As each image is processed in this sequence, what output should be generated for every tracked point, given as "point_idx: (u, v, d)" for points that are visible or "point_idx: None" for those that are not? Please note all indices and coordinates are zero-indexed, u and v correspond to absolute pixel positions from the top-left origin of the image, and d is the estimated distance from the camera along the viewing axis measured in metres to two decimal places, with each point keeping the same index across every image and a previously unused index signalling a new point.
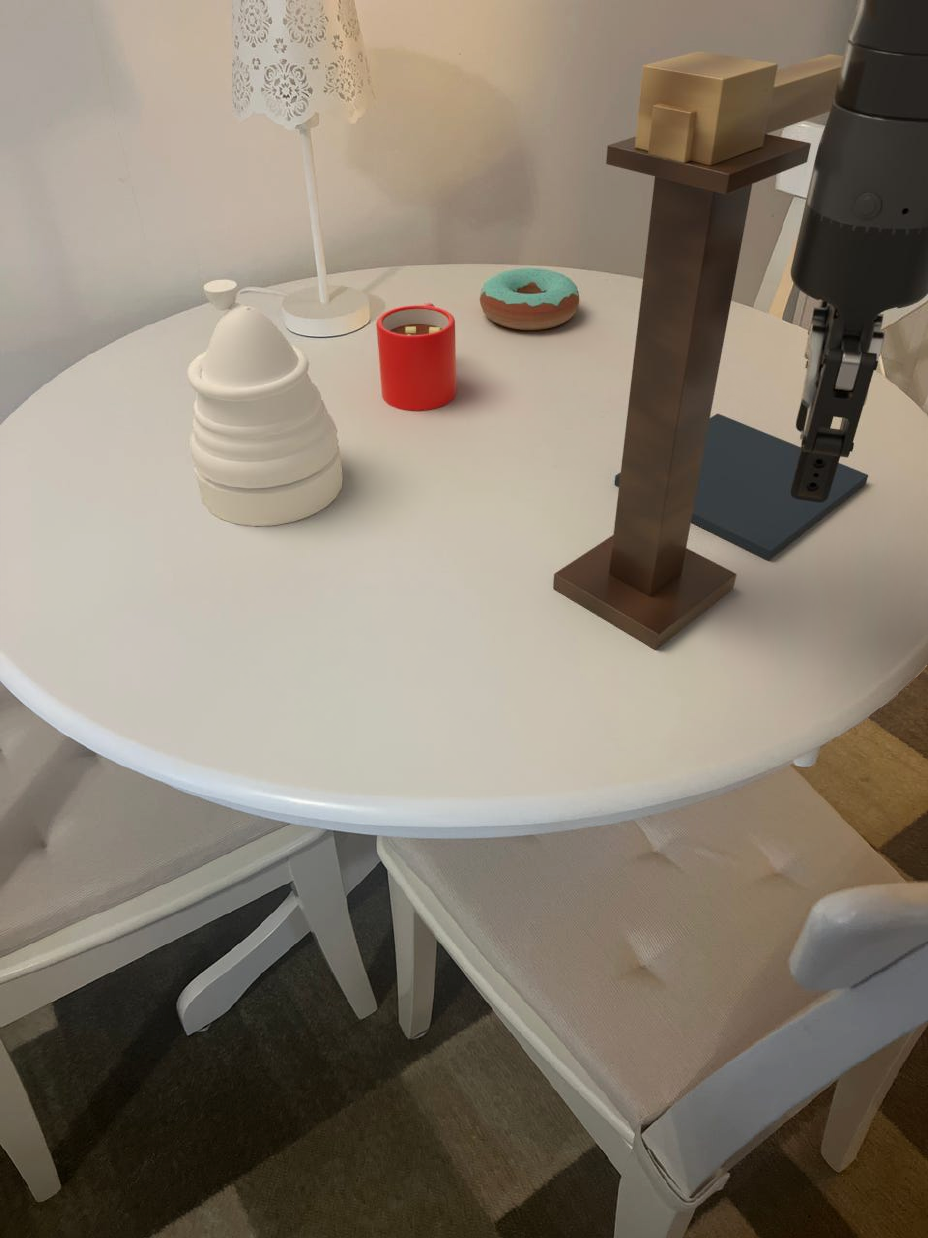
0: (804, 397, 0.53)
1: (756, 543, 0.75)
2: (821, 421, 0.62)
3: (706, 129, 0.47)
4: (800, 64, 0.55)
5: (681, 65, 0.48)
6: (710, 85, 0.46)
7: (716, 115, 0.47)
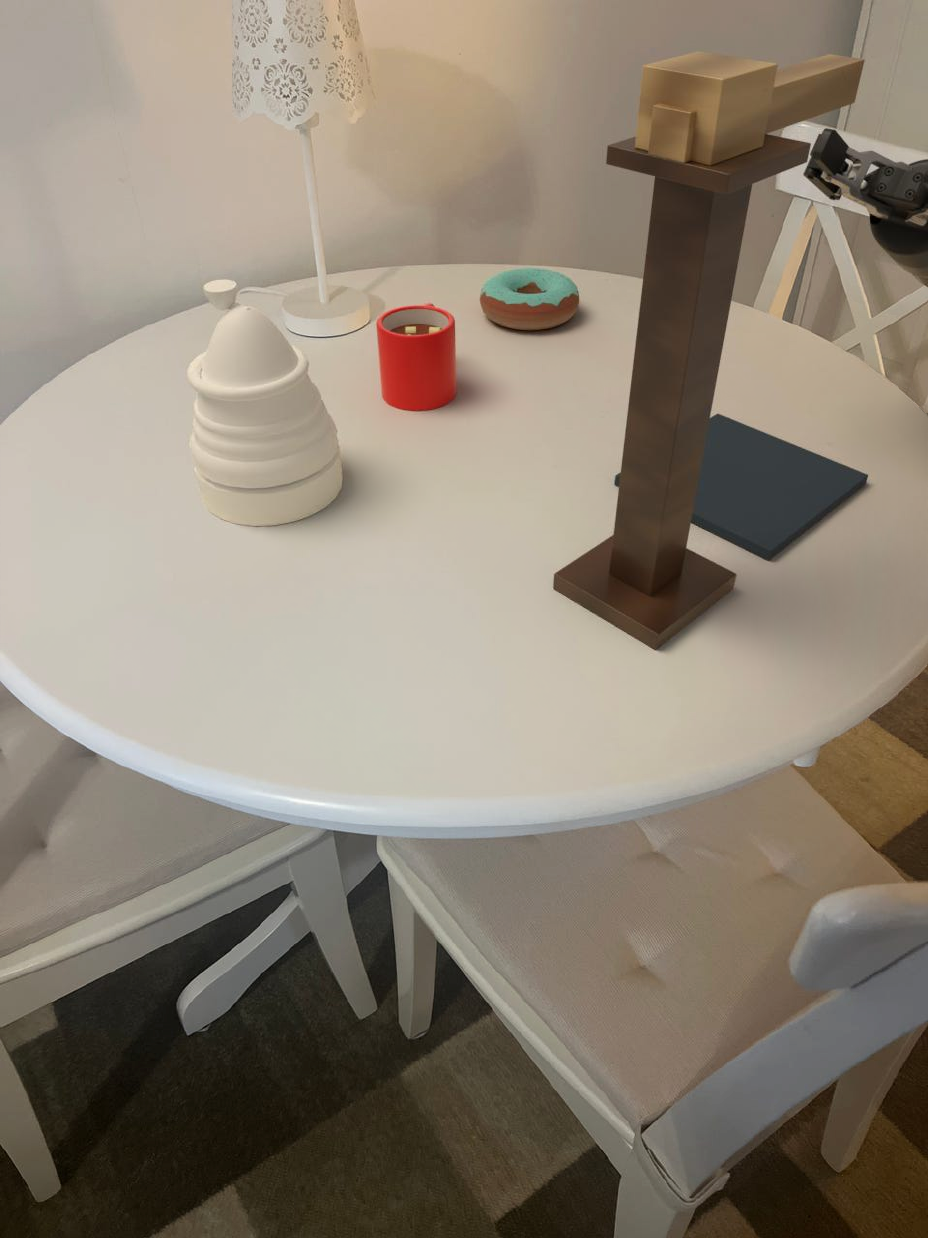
0: (842, 194, 0.73)
1: (756, 543, 0.75)
2: None
3: (706, 129, 0.47)
4: (800, 64, 0.55)
5: (681, 65, 0.48)
6: (710, 85, 0.46)
7: (716, 115, 0.47)
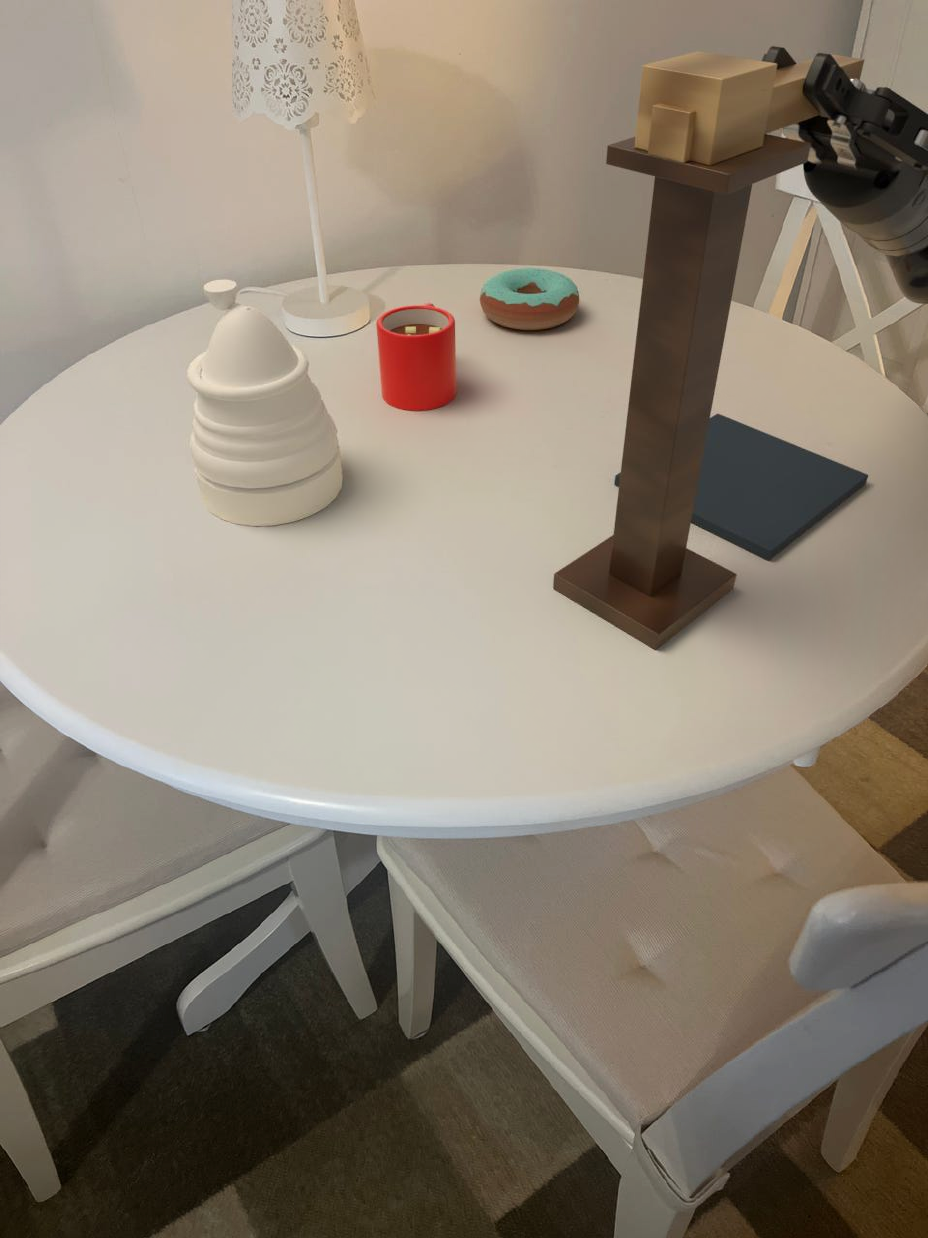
0: (783, 132, 0.60)
1: (756, 543, 0.75)
2: None
3: (705, 129, 0.47)
4: (800, 64, 0.55)
5: (681, 65, 0.48)
6: (709, 85, 0.46)
7: (715, 115, 0.47)
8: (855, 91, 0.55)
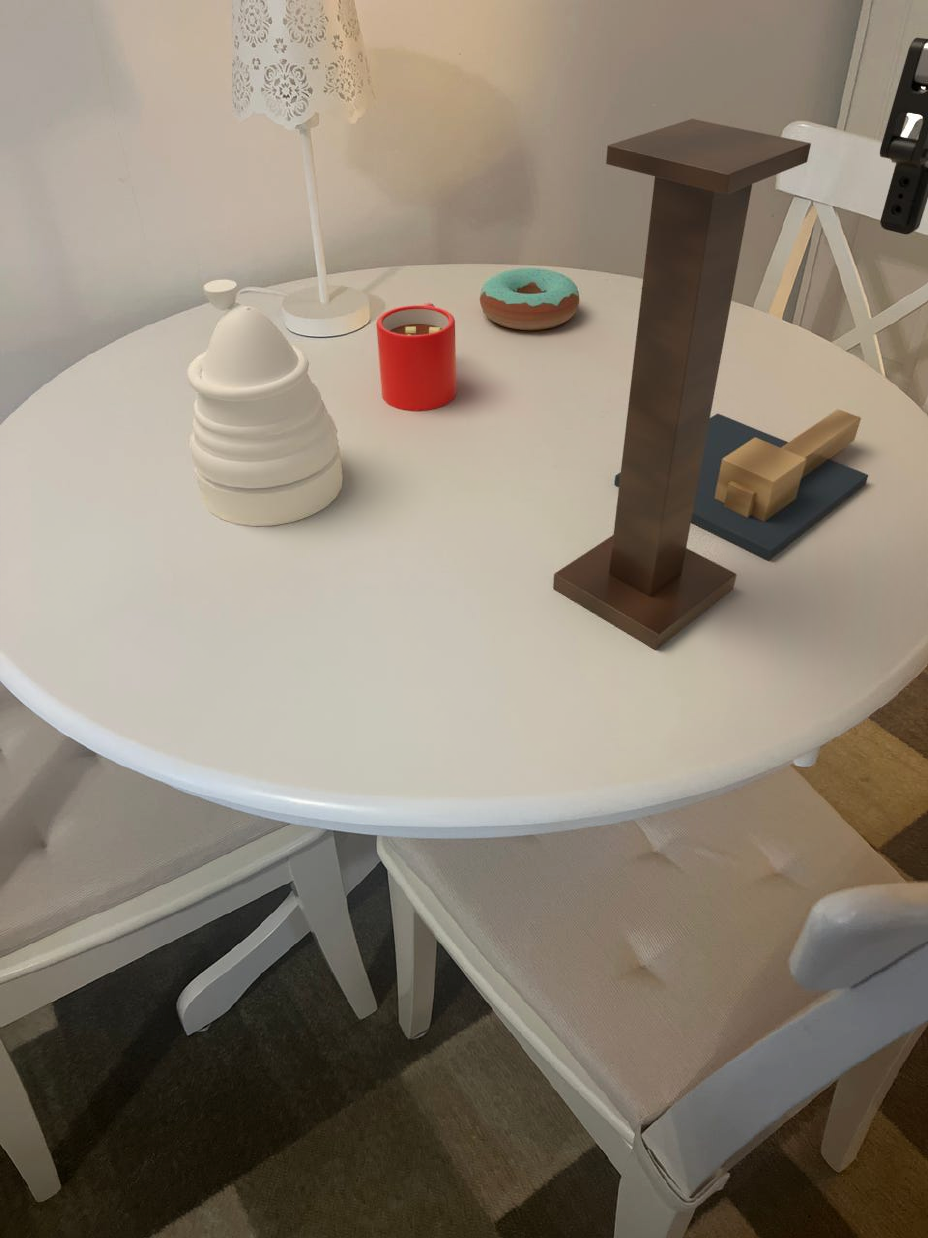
0: None
1: (756, 543, 0.75)
2: None
3: (762, 503, 0.76)
4: (818, 424, 0.84)
5: (746, 460, 0.77)
6: (765, 482, 0.75)
7: (769, 498, 0.76)
8: None
